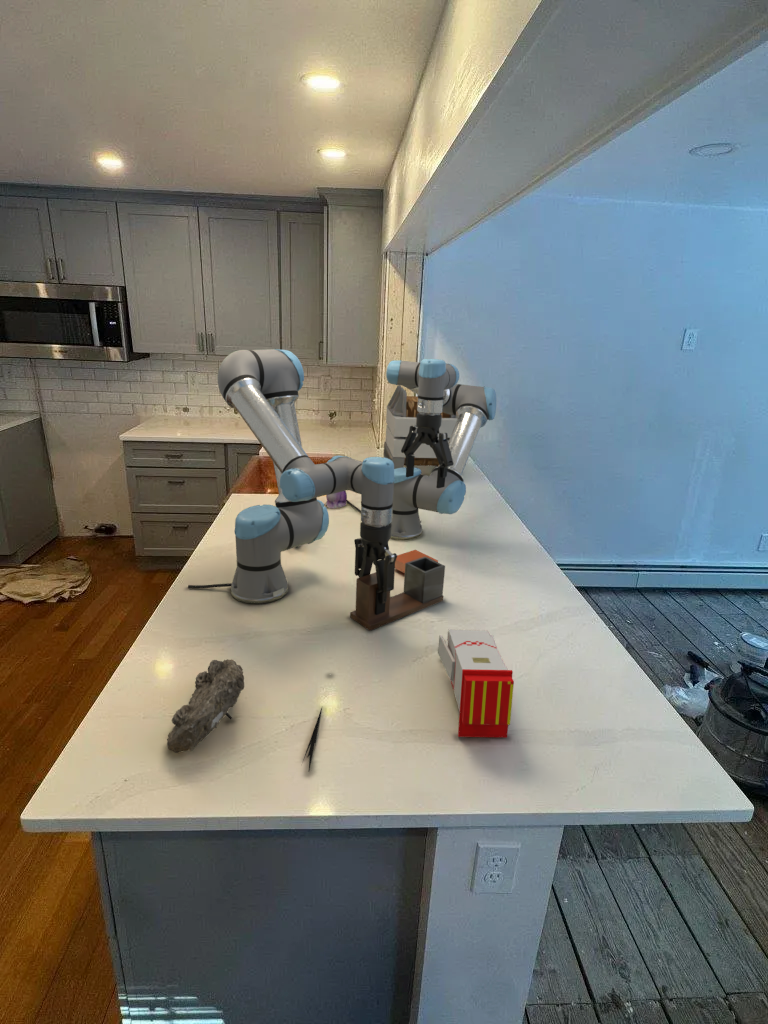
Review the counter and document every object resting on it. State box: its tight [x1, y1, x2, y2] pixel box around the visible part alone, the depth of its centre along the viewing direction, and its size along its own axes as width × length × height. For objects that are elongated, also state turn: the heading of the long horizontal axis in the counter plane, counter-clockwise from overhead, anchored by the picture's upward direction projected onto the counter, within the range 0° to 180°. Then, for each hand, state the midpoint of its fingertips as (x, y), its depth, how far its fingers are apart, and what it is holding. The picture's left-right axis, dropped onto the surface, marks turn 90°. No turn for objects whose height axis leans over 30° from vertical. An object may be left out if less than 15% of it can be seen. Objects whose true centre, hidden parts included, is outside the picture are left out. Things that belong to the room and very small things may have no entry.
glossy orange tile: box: [395, 549, 439, 574], centre depth 171 cm, size 10×10×4 cm
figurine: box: [325, 490, 348, 509], centre depth 223 cm, size 9×10×15 cm
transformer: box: [383, 385, 458, 469], centre depth 268 cm, size 34×33×41 cm
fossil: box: [166, 658, 245, 754], centre depth 106 cm, size 22×10×15 cm
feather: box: [301, 673, 332, 771], centre depth 108 cm, size 2×28×2 cm
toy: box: [437, 628, 515, 738], centre depth 117 cm, size 12×13×30 cm
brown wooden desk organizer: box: [349, 556, 446, 631], centre depth 148 cm, size 8×26×12 cm, turn 131°
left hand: (372, 608), depth 143 cm, fingers closed on brown wooden desk organizer, 5 cm apart
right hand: (424, 481), depth 175 cm, fingers open, 13 cm apart
